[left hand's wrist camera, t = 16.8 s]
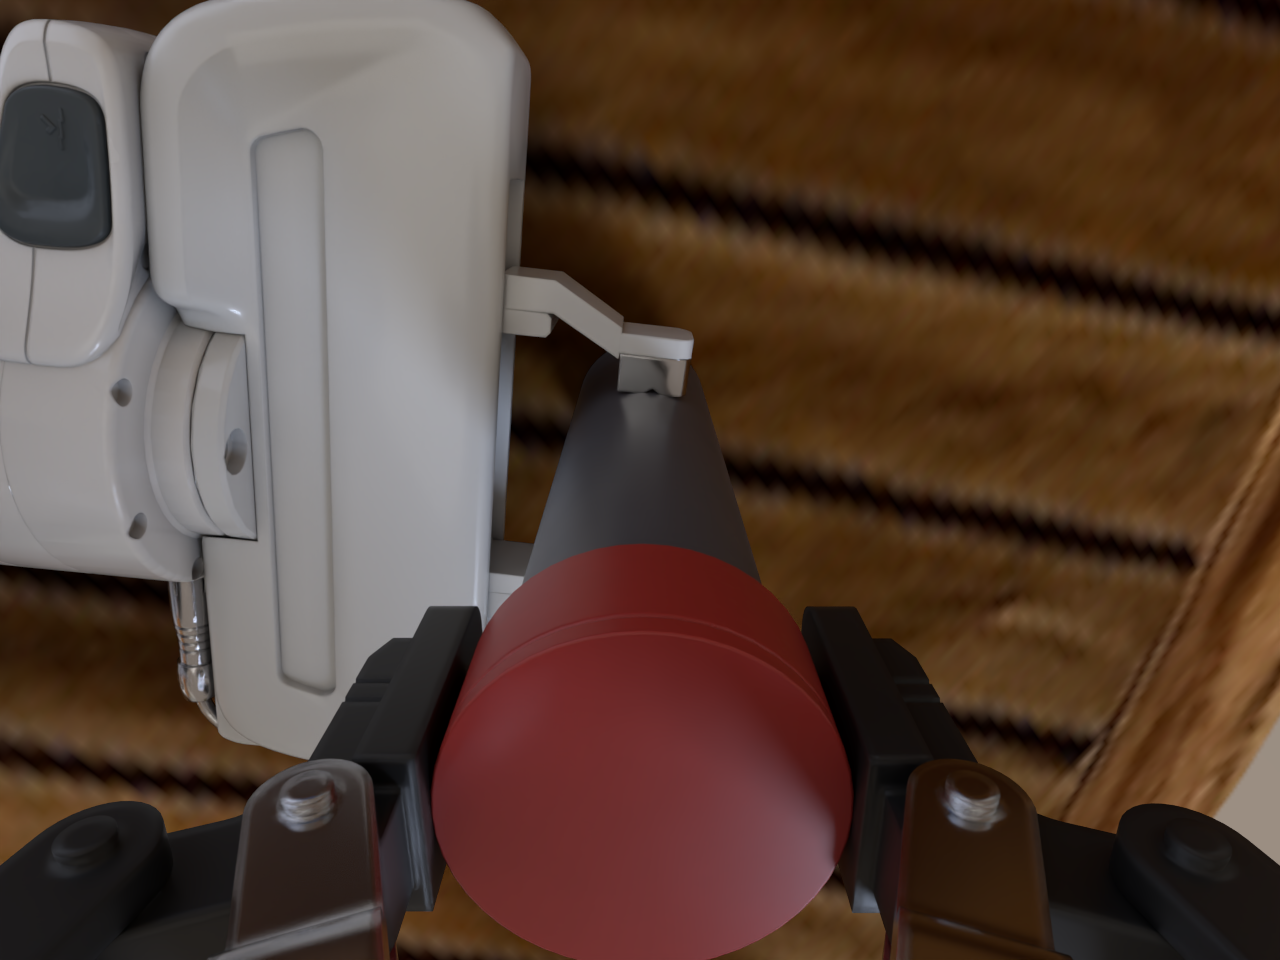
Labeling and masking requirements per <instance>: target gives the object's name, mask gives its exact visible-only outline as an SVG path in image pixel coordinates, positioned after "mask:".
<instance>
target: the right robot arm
mask: <svg viewBox="0 0 1280 960" xmlns="http://www.w3.org/2000/svg"><path fill="white" fill-rule="evenodd" d="M530 86H531V69H530V65H529V62H528V59H527V57H526V56H525V54H524V53H523V51H522V50H521V48H520V47H519V45H518V44H517V42H516V41H515V40H514V38H513V37H512V35H511V34H510V33H509V32H508V31H507V29H506V28H505V27H504V26H503V25H502V24H501V23H500V22H499V21H498V20H497V19H496V18H495V17H494V16H493V15H492V14H491V13H490V12H488V11H487V10H485V9H484V8H482V7H480V6H479V5H477V4H474V3H471V2H469V1H466V0H209V1H206V2H203V3H200V4H197V5H195V6H193V7H191V8H189V9H187V10H185V11H183V12H182V13H180V14H179V15H177V16H176V17H175V18H173V19H172V20H171V21H170V22H169V23H168V24H167V25H166V26H165V27H164V28H163V29H162V30H161V31H160V33H159V34H158V36H155V35H151V34H147V33H143V32H139V31H135V30H132V29H127V28H121V27H116V26H110V25H104V24H97V23H90V22H82V21H71V20H53V19H33V20H27V21H24V22H21V23H19V24H18V25H16V26H15V27H14V28H13V29H12V30H11V32H10V33H9V35H8V37H7V39H6V41H5V43H4V45H3V49H2V52H1V55H0V564H2V565H12V566H21V567H31V568H41V569H52V570H62V571H72V572H82V573H94V574H102V575H112V576H122V577H132V578H142V579H152V580H162V581H167V582H168V592H169V601H170V610H171V615H172V620H173V624H174V628H175V631H176V636H177V639H178V646H179V657H178V659H177V676H178V682H179V686H180V689H181V692H182V694H183V696H184V698H185V699H186V700H188V701H190V702H197V704H198V707H199V709H200V710H201V712H202V713H203V715H204V716H205V717H206V718H207V720H208V721H209V722H210V723H211V724H213V725H214V726H215V727H216V728H218V732H219V733H220V735H221V736H222V737H224V738H226V739H228V740H231V741H234V742H237V743H242V744H249V745H260V746H263V747H265V748H268V749H271V750H273V751H277V752H280V753H283V754H287V755H290V756H294V757H298V758H302V759H306V760H309V759H310V757H311V755H312V753H313V752H314V750H315V748H316V746H317V745H318V743H319V741H320V740H321V738H322V736H323V734H324V733H325V731H326V729H327V727H328V726H329V724H330V722H331V721H332V719H333V717H334V715H335V714H336V712H337V710H338V708H339V707H340V705H341V703H342V702H345V696H346V695H347V693H348V691H349V690H350V688H351V686H352V684H353V683H356V677H357V676H358V674H359V672H360V671H361V669H362V667H363V665H364V664H365V662H366V660H367V658H368V657H369V656H370V655H371V654H373V653H374V652H375V651H377V650H378V649H379V648H381V647H382V646H383V645H384V644H386V643H387V642H388V641H390V640H391V639H392V638H413V636H414V634H415V632H416V630H417V628H418V626H419V624H420V622H421V620H422V618H423V616H424V614H425V612H426V610H427V609H428V607H429V606H478V608H479V610H480V613H481V620H482V632H483V631H484V629H485V627H486V625H487V624H488V622H489V621H490V619H491V618H492V617H493V615H494V614H495V612H496V611H497V609H498V608H499V607H500V606H501V605H502V604H503V603H504V601H505V600H506V599H507V598H508V597H509V596H510V595H511V594H512V593H513V592H514V591H515V590H516V589H518V588H519V587H520V586H521V585H522V583H523V580H524V576H525V573H526V570H527V566H528V563H529V560H530V556H531V553H532V550H533V546H534V544H531V543H522V542H513V541H504V532H505V515H506V498H507V481H508V464H509V447H510V430H511V413H512V395H513V378H514V361H515V344H516V335H526V336H535V337H545V338H546V337H547V336H548V335H549V334H550V333H551V331H552V330H553V328H554V326H555V325H556V323H557V322H558V320H559V318H560V319H562V320H563V321H564V322H566V323H567V324H569V325H570V326H572V327H573V328H574V329H576V330H577V331H579V332H580V333H582V334H583V335H585V336H586V337H587V338H589V339H590V340H592V341H593V342H595V343H596V344H597V345H599V346H600V347H602V348H603V349H605V350H606V351H607V352H609V353H610V354H612V355H613V356H615V357H616V358H617V359H618V358H619V355H620V363H619V374H618V386H617V391H623V392H631V393H645V392H647V391H649V390H651V389H654V390H655V391H656V392H657V393H658V394H659V395H664V396H667V397H681V396H685V395H686V389H687V382H688V376H689V370H690V363H691V355H692V348H693V341H694V338H693V335H692V332H690V331H687V330H683V329H680V328H673V327H665V326H656V325H647V324H639V323H630V322H624V317H623V316H622V315H620V314H619V313H618V312H616V311H615V310H614V309H612V308H611V307H610V306H608V305H607V304H606V303H604V302H603V301H602V300H600V299H599V298H598V297H596V296H595V295H594V294H592V293H591V292H590V291H588V290H587V289H586V288H584V287H583V286H582V285H580V284H579V283H578V282H576V281H575V280H574V279H572V278H571V277H570V276H568V275H567V274H566V273H564V272H562V271H554V270H545V269H537V268H528V267H520V258H521V241H522V224H523V207H524V190H525V173H526V156H527V139H528V122H529V104H530ZM213 697H215V702H216V705H215V704H214V702H213V700H212V698H213Z"/></svg>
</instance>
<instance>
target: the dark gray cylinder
mask: <svg viewBox="0 0 1280 960" xmlns="http://www.w3.org/2000/svg"><path fill="white" fill-rule="evenodd" d="M619 363H620V355H619V358H618V359H617V358H616V357H615V356H613V355H612V354H610V353H609V352H606V353H605V354H603V355H602V356H601V357H600V358H599V359H597V360H596V362H595V363H594V364H593V365H592V366H591V368H590V369H589V371H588V372H587V374H586V376H585V378H584V381H583V384H582V387H581V390H580V394H579V397H578V400H577V404H576V407H575V410H574V413H573V417H572V420H571V423H570V427H569V430H568V433H567V437H566V440H565V443H564V447H563V450H562V453H561V457H560V460H559V463H558V467H557V470H556V473H555V477H554V480H553V483H552V487H551V490H550V493H549V496H548V500H547V503H546V506H545V510H544V513H543V516H542V520H541V523H540V526H539V530H538V533H537V536H536V540H535V543H534V546H533V550H532V553H531V556H530V560H529V563H528V566H527V570H526V573H525V576H524V580H523V583H522V585H523V584H524V583H525V582H526V581H528V580H529V579H530V578H531V577H533V576H535V575H536V574H538V573H540V572H541V571H543V570H545V569H546V568H548V567H549V566H551V565H554V564H556V563H558V562H560V561H563V560H565V559H567V558H569V557H572V556H574V555H578V554H581V553H584V552H588V551H591V550H594V549H599V548H605V547H611V546H616V545H628V544H655V545H668V546H674V547H679V548H684V549H690V550H693V551H696V552H700V553H703V554H706V555H709V556H712V557H715V558H717V559H719V560H721V561H724V562H726V563H728V564H730V565H732V566H734V567H736V568H738V569H740V570H741V571H743V572H744V573H746V574H747V575H749V576H751V577H752V578H754V579H755V580H757V581H758V582H759V583H760V584H761V580H760V577H759V574H758V571H757V567H756V564H755V561H754V557H753V554H752V551H751V548H750V544H749V541H748V538H747V534H746V531H745V528H744V525H743V521H742V518H741V515H740V511H739V508H738V505H737V502H736V498H735V495H734V492H733V488H732V485H731V482H730V478H729V475H728V472H727V469H726V465H725V462H724V459H723V455H722V452H721V449H720V446H719V442H718V439H717V436H716V432H715V429H714V426H713V423H712V419H711V416H710V413H709V409H708V406H707V403H706V400H705V396H704V393H703V390H702V386H701V383H700V380H699V378H698V376H697V374H696V372H695V371H694V369H693V368H692V366H691V365H690V370H689V376H688V382H687V389H686V395H685V396H681V397H667V396H664V395H659V394H658V393H657V392H656V391H655V390H654V389H651V390H649V391H647V392H645V393H631V392H623V391H617V386H618V374H619ZM761 585H762V584H761Z"/></svg>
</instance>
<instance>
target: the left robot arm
mask: <svg viewBox="0 0 1280 960" xmlns="http://www.w3.org/2000/svg"><path fill="white" fill-rule="evenodd" d="M482 633H483V632H482V620H481V613H480V610H479V608H478V606H429V607H428V609H427V610H426V612H425V614H424V616H423V618H422V620H421V622H420V624H419V626H418V628H417V630H416V632H415V634H414V636H413V638H392V639H391V640H390V641H388V642H387V643H386V644H384V645H383V646H382V647H381V648H379V649H378V650H377V651H375V652H374V653H373V654H371V655H370V656H369V657H368V658H367V660H366V662H365V664H364V665H363V667H362V669H361V671H360V672H359V674H358V676H357V677H356V683H353V684H352V686H351V688H350V690H349V691H348V693H347V695H346V696H345V702H342V703H341V705H340V707H339V708H338V710H337V712H336V714H335V715H334V717H333V719H332V721H331V722H330V724H329V726H328V727H327V729H326V731H325V733H324V734H323V736H322V738H321V740H320V741H319V743H318V745H317V746H316V748H315V750H314V752H313V753H312V755H311V757H310V759H309V760H308V762H305V763H301V764H298V765H296V766H293V767H290V768H288V769H286V770H284V771H282V772H280V773H278V774H277V775H275V776H273V777H272V778H270V779H269V780H267V781H266V782H265V783H264V784H262V785H261V786H260V787H259V788H258V789H257V790H256V791H255V792H254V793H253V795H252V796H251V797H250V799H249V800H248V802H247V804H246V806H245V808H244V812H243V815H240V816H237V817H234V818H230V819H227V820H223V821H219V822H215V823H210V824H206V825H202V826H197V827H193V828H189V829H184V830H180V831H176V832H171V833H167V832H166V828H165V824H164V821H163V818H162V815H161V813H160V812H159V811H158V810H157V809H156V808H154V807H153V806H151V805H149V804H146V803H142V802H135V801H120V802H112V803H107V804H102V805H98V806H95V807H91V808H88V809H85V810H83V811H80V812H78V813H75V814H73V815H71V816H69V817H67V818H65V819H63V820H61V821H59V822H57V823H56V824H54V825H52V826H51V827H49V828H47V829H46V830H45V831H43V832H42V833H40V834H39V835H38V836H36V837H35V838H34V839H33V840H31V841H30V842H29V843H28V844H26V845H25V846H24V847H23V848H21V849H20V850H19V851H18V852H17V853H15V854H14V855H13V856H12V857H10V858H9V859H8V860H7V861H5V862H4V863H3V864H2V865H0V960H398V955H397V948H396V939H397V936H398V933H399V930H400V927H401V924H402V921H403V918H404V915H405V912H406V911H433V909H434V905H435V902H436V898H437V895H438V891H439V888H440V884H441V881H442V877H443V874H444V870H445V867H446V861H445V859H444V857H443V855H442V852H441V849H440V847H439V844H438V841H437V838H436V835H435V830H434V825H433V819H432V811H431V784H432V777H433V770H434V766H435V762H436V759H437V756H438V753H439V750H440V747H441V744H442V741H443V738H444V735H445V733H446V730H447V728H448V724H449V722H450V719H451V716H452V713H453V710H454V708H455V705H456V702H457V699H458V697H459V694H460V691H461V688H462V685H463V683H464V680H465V677H466V674H467V671H468V669H469V666H470V663H471V660H472V658H473V655H474V652H475V649H476V646H477V644H478V641H479V639H480V637H481V635H482ZM801 633H802V636H803V638H804V640H805V642H806V644H807V646H808V649H809V652H810V655H811V657H812V660H813V663H814V666H815V668H816V671H817V674H818V677H819V679H820V682H821V685H822V688H823V690H824V693H825V696H826V699H827V701H828V704H829V707H830V710H831V712H832V715H833V718H834V721H835V723H836V726H837V729H838V732H839V734H840V737H841V740H842V743H843V745H844V748H845V751H846V755H847V758H848V762H849V765H850V768H851V773H852V782H853V790H854V802H853V817H852V822H851V827H850V831H849V836H848V840H847V842H846V845H845V848H844V850H843V853H842V856H841V858H840V860H839V862H838V865H839V868H840V872H841V875H842V879H843V882H844V885H845V889H846V892H847V896H848V899H849V903H850V906H851V909H852V913H880V915H881V918H882V921H883V924H884V927H885V930H886V934H885V941H884V948H883V955H882V960H1280V865H1278V864H1277V863H1276V862H1275V861H1273V860H1272V859H1271V858H1270V857H1268V856H1267V855H1266V854H1265V853H1263V852H1262V851H1261V850H1260V849H1258V848H1257V847H1256V846H1255V845H1254V844H1252V843H1251V842H1250V841H1249V840H1247V839H1246V838H1245V837H1243V836H1242V835H1241V834H1239V833H1238V832H1236V831H1235V830H1233V829H1232V828H1230V827H1228V826H1227V825H1225V824H1223V823H1221V822H1219V821H1217V820H1215V819H1213V818H1211V817H1209V816H1207V815H1204V814H1202V813H1199V812H1196V811H1193V810H1190V809H1187V808H1183V807H1179V806H1175V805H1168V804H1152V803H1151V804H1142V805H1138V806H1135V807H1133V808H1131V809H1129V810H1127V811H1126V812H1125V813H1124V814H1123V815H1122V817H1121V820H1120V822H1119V826H1118V830H1117V833H1116V834H1113V833H1108V832H1104V831H1100V830H1096V829H1091V828H1087V827H1083V826H1078V825H1074V824H1070V823H1065V822H1061V821H1058V820H1054V819H1051V818H1048V817H1045V816H1042V815H1040V814H1037V812H1036V808H1035V806H1034V804H1033V802H1032V800H1031V799H1030V797H1029V796H1028V795H1027V793H1026V792H1025V791H1024V790H1023V789H1022V788H1021V787H1020V786H1019V785H1018V784H1016V783H1015V782H1014V781H1013V780H1011V779H1010V778H1008V777H1007V776H1005V775H1003V774H1002V773H1000V772H998V771H996V770H994V769H992V768H990V767H987V766H984V765H982V764H979V763H978V762H977V760H976V759H975V757H974V755H973V754H972V752H971V750H970V749H969V747H968V745H967V743H966V742H965V740H964V738H963V737H962V735H961V733H960V732H959V730H958V728H957V726H956V725H955V723H954V721H953V720H952V718H951V716H950V715H949V713H948V711H947V709H946V708H945V706H944V704H943V703H940V698H939V696H938V694H937V692H936V691H935V689H934V687H933V686H932V684H929V679H928V677H927V675H926V674H925V672H924V670H923V669H922V667H921V665H920V664H919V662H918V660H917V658H916V657H915V656H913V655H912V654H911V653H909V652H908V651H907V650H905V649H904V648H903V647H901V646H900V645H899V644H898V643H896V642H895V641H894V640H892V639H872V638H871V636H870V634H869V632H868V630H867V628H866V626H865V624H864V622H863V620H862V618H861V616H860V614H859V612H858V611H857V609H856V608H855V607H806V608H805V610H804V614H803V620H802V631H801Z"/></svg>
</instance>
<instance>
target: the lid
mask: <svg viewBox="0 0 1280 960" xmlns="http://www.w3.org/2000/svg"><path fill="white" fill-rule="evenodd" d="M853 802H854V790H853V782H852V773H851V768H850V765H849V762H848V758H847V755H846V751H845V748H844V745H843V743H842V740H841V737H840V734H839V732H838V729H837V726H836V723H835V721H834V718H833V715H832V712H831V710H830V707H829V704H828V701H827V699H826V696H825V693H824V690H823V688H822V685H821V682H820V679H819V677H818V674H817V671H816V668H815V666H814V663H813V660H812V657H811V655H810V652H809V649H808V646H807V644H806V642H805V640H804V638H803V636H802V633H801V631H800V629H799V627H798V626H797V624H796V623H795V621H794V620H793V618H792V617H791V615H790V614H789V612H788V611H787V609H786V608H785V607H784V606H783V605H782V604H781V603H780V602H779V600H778V599H777V598H776V597H775V596H774V595H773V594H772V593H771V592H770V591H769V590H767V589H766V588H765V587H764V586H763V585H761V584H760V583H759V582H758V581H757V580H755V579H754V578H752V577H751V576H749V575H747V574H746V573H744V572H743V571H741V570H740V569H738V568H736V567H734V566H732V565H730V564H728V563H726V562H724V561H721V560H719V559H717V558H715V557H712V556H709V555H706V554H703V553H700V552H696V551H693V550H690V549H684V548H679V547H674V546H668V545H655V544H628V545H616V546H611V547H605V548H599V549H594V550H591V551H588V552H584V553H581V554H578V555H574V556H572V557H569V558H567V559H565V560H563V561H560V562H558V563H556V564H554V565H551V566H549V567H548V568H546V569H545V570H543V571H541V572H540V573H538V574H536V575H535V576H533V577H531V578H530V579H529V580H528V581H526V582H525V583H524V584H523V585H521V586H520V587H519V588H518V589H516V590H515V591H514V592H513V593H512V594H511V595H510V596H509V597H508V598H507V599H506V600H505V601H504V603H503V604H502V605H501V606H500V607H499V608H498V609H497V611H496V612H495V614H494V615H493V617H492V618H491V619H490V621H489V622H488V624H487V625H486V627H485V629H484V631H483V633H482V635H481V637H480V639H479V641H478V644H477V646H476V649H475V652H474V655H473V658H472V660H471V663H470V666H469V669H468V671H467V674H466V677H465V680H464V683H463V685H462V688H461V691H460V694H459V697H458V699H457V702H456V705H455V708H454V710H453V713H452V716H451V719H450V722H449V724H448V728H447V730H446V733H445V735H444V738H443V741H442V744H441V747H440V750H439V753H438V756H437V759H436V762H435V766H434V770H433V777H432V784H431V811H432V819H433V825H434V830H435V835H436V838H437V841H438V844H439V847H440V849H441V852H442V855H443V857H444V859H445V861H446V863H447V865H448V867H449V868H450V870H451V872H452V874H453V876H454V877H455V879H456V880H457V881H458V883H459V884H460V885H461V887H462V888H463V889H464V891H465V892H466V893H467V895H468V896H469V897H470V898H471V899H472V900H473V901H474V902H475V903H476V904H477V905H478V906H479V907H480V908H481V909H482V910H483V911H484V912H485V913H487V914H488V915H489V916H490V917H492V918H493V919H494V920H495V921H497V922H498V923H499V924H500V925H502V926H503V927H505V928H506V929H508V930H510V931H511V932H513V933H514V934H516V935H517V936H519V937H521V938H523V939H525V940H527V941H529V942H531V943H533V944H535V945H537V946H539V947H541V948H543V949H546V950H549V951H551V952H554V953H557V954H560V955H562V956H565V957H569V958H573V959H577V960H708V959H712V958H716V957H719V956H722V955H725V954H728V953H730V952H733V951H736V950H739V949H741V948H743V947H745V946H747V945H750V944H752V943H754V942H756V941H758V940H760V939H762V938H764V937H765V936H767V935H768V934H770V933H772V932H773V931H775V930H777V929H778V928H780V927H781V926H783V925H784V924H785V923H787V922H788V921H789V920H790V919H792V918H793V917H794V916H796V915H797V914H798V913H799V912H800V911H801V910H802V909H803V908H804V907H805V906H806V905H807V904H808V903H809V902H810V901H811V900H812V899H813V898H814V897H815V896H816V895H817V894H818V892H819V891H820V890H821V889H822V887H823V886H824V885H825V883H826V882H827V881H828V879H829V878H830V876H831V874H832V873H833V871H834V869H835V867H836V866H837V864H838V862H839V860H840V858H841V856H842V853H843V850H844V848H845V845H846V842H847V840H848V836H849V831H850V827H851V822H852V817H853Z"/></svg>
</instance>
